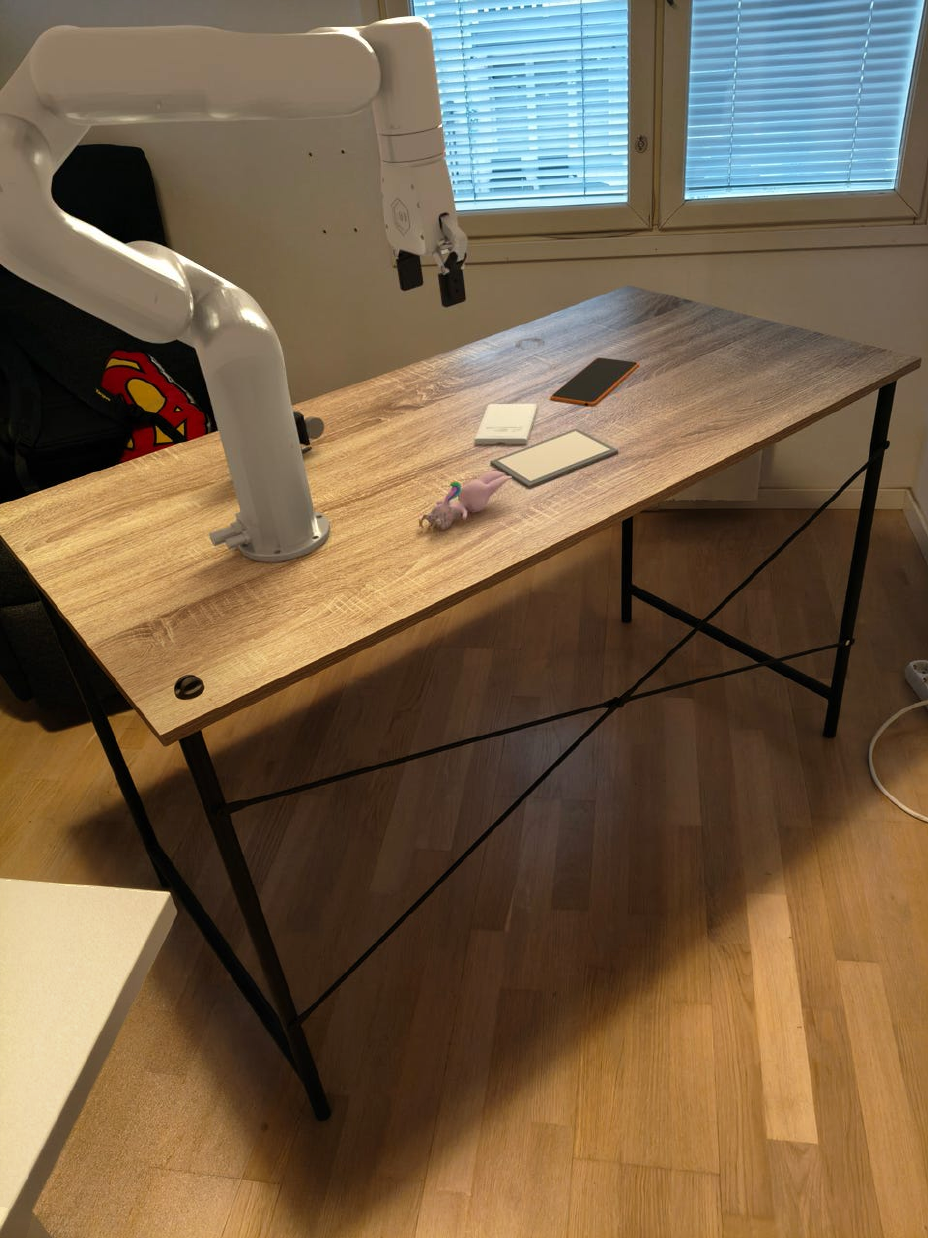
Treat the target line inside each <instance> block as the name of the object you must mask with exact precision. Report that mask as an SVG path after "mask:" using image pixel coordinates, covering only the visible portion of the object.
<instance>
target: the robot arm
mask: <svg viewBox="0 0 928 1238" xmlns="http://www.w3.org/2000/svg"><path fill="white" fill-rule="evenodd" d="M436 67H437V66H436V59H435V50H434V41H433V36H432V28H431V27H430V25H429V23H428V21H427V20H426V19H424V18H422V17H420V16H401V17H394V18H393V17H392V18H388V19H383V20H378V21H375V22H373V23H370V24H369V25H364V26H363V25H360V26H338V27H337V26H334V27H333V26H332V27H331V26H329V27H328V26H326V27H317V28H314V29H311V30H309V31H307V32H305V33H253V32H240V31H239V32H238V31H231V30H225V29H220V28H217V27H213V26H206V25H205V26H204V25H203V26H202V25H190V24H189V25H187V24H185V25H183V24H181V25H157V26H122V27H121V26H119V27H118V26H117V27H116V26H114V27H113V26H112V27H106V26H105V27H103V26H101V27H79V26H75V25H69V24H64V25H62V24H61V25H57V26H52V27H51V28H49V29H47V30H45V31H44V32H43V33H42V34H40V36H38V38H37V39H36V41H35V42H34V44H33V45H32V46H31V48H30V50H29V51H28V53H27V54H26V55H25V58H24V59H23V61H22V62H21V63H20V65H19V66H18V68H16V70H15V71H14V73H13V74H12V75H11V77H10V78H9V79H8V81H7V82H6V83H5V85H4V86H3V87H2V88H1V90H0V265H2V266H3V268H6V269H7V270H8V271H9V272H11V273H13V274H14V275H16V277H17V276H18V277H19V278H20V279H23V280H24V281H27V282H28V283H30V284H32V285H34V286H35V287H38V288H40V289H41V290H44V291H46V292H48V293H49V294H52V295H54V296H56V297H58V298H59V299H61V300H64V301H65V302H67V303H68V304H70V305H72V306H75V307H76V308H79V309H80V310H82V311H84V312H86V313H88V314H90V315H92V316H94V317H96V318H98V319H101V320H102V321H104V322H106V323H108V324H110V325H112V326H113V327H116V328H118V329H120V330H122V331H123V332H125V333H127V334H128V335H130V336H132V337H134V338H137V339H138V340H141V341H143V342H148V343H151V344H166V343H171V342H173V341H176V340H177V341H179V342H182V343H183V344H186V345H187V346H190V347H192V348H194V349H195V351H196V355H197V357H198V361H199V364H200V367H201V372H202V375H203V378H204V381H205V384H206V389H207V392H208V396H209V399H210V400H209V401H210V405H211V407H212V411H213V415H214V420H215V422H216V423H215V424H216V427H217V430H218V434H219V437H220V442H221V444H222V447H223V452H224V456H225V459H226V462H227V465H228V470H229V473H230V477H231V481H232V484H233V489H234V491H235V496H236V501H237V503H238V507H239V510H240V511H237V512H235V513H234V516H235V520H234V521H232V522H230V525H229V526H226V527H223V528H219V529H216V530H213V531H211V532H210V531H209V533H208V536H209V539H210V541H211V543H212V545H213V546H214V547H217V546H220V545H223V544H225V545H226V547H227V549H228V550H231V549H234V548H237V547H238V550H239V552H240V554H242V555H243V556H244V557H247V558H248V559H251V560H254V561H258V562H264V563H265V562H267V563H268V562H270V563H271V562H272V563H274V562H284V561H289V560H293V559H298V558H301V557H302V556H305V555H308V554H310V553H311V552H313V551H315V550H316V549H318V548H319V547H320V546H322V545H323V544H324V543H325V541H327V539H328V537H329V536H330V532H331V528H330V522H329V519H328V517H327V515H324V513H322V512H320V511H318V510H315V507H314V503H313V497H312V495H311V489H310V485H309V480H308V475H307V472H306V471H307V470H306V466H305V462H304V456H303V453H302V452H301V449H302V446H301V447H300V445H301V444H300V442H299V438H298V433H297V429H296V424H295V420H294V415H293V407H292V401H291V396H290V391H289V385H288V377H287V370H286V364H285V357H284V352H283V348H282V345H281V342H280V340H279V337H278V334H277V331H276V330H275V328H274V326H273V325H272V323H271V321H270V319H269V318H268V316H267V315H266V314H265V313H264V311H263V309H262V307H261V306H260V304H259V303H258V302H257V301H256V300H255V298H254V297H253V296H252V295H251V294H249V293H248V292H247V291H245V290H244V289H242V288H241V287H238V286H237V285H236V284H233V283H232V282H230V281H229V280H226V279H225V278H223V277H222V276H219V275H217V274H216V273H214V272H212V271H211V270H208V269H207V268H205V267H203V266H201V265H199V264H198V263H195V262H194V261H192V260H190V259H189V258H188V257H187V258H186V257H185V256H183V255H182V254H179V253H178V252H176V251H174V250H173V249H170V248H168V247H167V246H163V245H162V244H158V243H156V242H153V241H147V240H135V241H131V242H127V243H123V242H122V241H120V240H118V239H116V238H114V237H112V236H111V235H109V234H107V233H105V232H104V231H102V230H101V229H99V228H97V227H96V226H94V225H92V224H90V223H87V222H86V221H83V220H81V219H79V218H77V217H75V216H73V215H70V214H69V213H67V212H65V211H64V210H63V209H61V208H60V207H59V206H58V204H57V203H56V202H55V200H54V199H53V195H52V183H53V177H54V175H55V174H56V172H58V169H60V167H61V166H62V165H63V163H64V162H65V160H67V158H68V157H69V156H70V154H71V153H72V152H73V151H74V149H75V148H76V147H77V146H78V144H79V143H80V141H81V140H82V139H83V138H84V136H85V135H86V134H87V132H88V131H89V130H90V128H91V127H93V126H95V127H96V126H112V125H113V126H115V125H116V126H117V125H133V124H148V123H150V124H151V123H152V124H153V123H167V122H171V123H176V122H177V123H178V122H180V123H181V122H204V121H205V122H207V121H208V122H209V121H211V122H234V121H248V120H249V121H251V120H253V121H254V120H257V121H258V120H260V121H262V120H263V121H264V120H265V121H268V120H269V121H277V120H278V121H279V120H280V121H281V120H282V121H283V120H285V121H286V120H287V121H288V120H290V121H291V120H307V119H309V120H311V119H312V120H313V119H331V118H332V119H335V118H343V117H344V118H345V117H352V116H355V115H357V114H360V113H361V112H363V111H365V110H367V108H369V107H370V105H372V112H373V120H374V125H375V132H376V137H377V144H378V151H379V156H380V190H381V201H382V202H381V203H382V210H383V219H382V220H383V222H384V226H385V233H386V240H387V242H388V243H389V245H390V246H391V247H393V248H392V255H393V257H394V258H395V263H396V269H397V275H398V281H399V287H400V290H401V291H403V292H407V291H410V290H414V289H416V288H419V287H422V286H423V285H424V276H423V270H422V262H421V257H422V258H428V257H430V256H431V255H432V257H433V259H434V260H435V263H436V264H437V267H438V269H439V271H440V272H439V273H437V278H438V285H439V294H440V301H441V306H442V307H443V308H450V307H452V306H455V305H458V304H461V303H465V301H466V299H467V297H466V287H465V279H464V270H463V269H465V266H466V265H465V261H466V259H467V256H468V255H467V249H468V243H469V239H468V236H467V234H466V233H465V232H464V231H463V230H462V229H461V227H460V226H459V222H458V214H457V208H456V202H455V196H454V191H453V190H454V189H453V185H452V180H451V177H450V172H449V168H448V164H447V160H446V156H447V150H446V143H445V135H444V134H445V133H444V125H443V118H442V117H443V115H442V107H441V102H440V101H441V100H440V90H439V85H438V84H439V83H438V76H437V68H436ZM447 253H449V254H448V256H447V258H446V259H445V257H444V255H443V254H447Z"/></svg>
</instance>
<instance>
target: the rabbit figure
mask: <svg viewBox="0 0 928 1238" xmlns="http://www.w3.org/2000/svg"><path fill="white" fill-rule="evenodd" d="M505 475H506V473H505V472H503V471H495V470H493V471H492V470H491V471H487V472H485V473H483V474H481V475H480V476H479V477H478V478H477V479H476V480H471V481H468V482H467V483H466V484H464V485H463V487H462V485H461V483H460V482H458V480H455V481H453V482H451V483H450V484H449V486H448V487H451V488H450V490H449V491H448V492H447V493H446V495H445V498H444V500H439V501H436V505H435V506H434V507H433V508H432V510H431V511H429V513H426V514H425V513H423V515H422V518H418V519H417V520H418V527H419V528H421V530H423V529H425V528H424V526H423V522H424V520H426V521H427V522H428V523H429V524H428V527H429V533H431V534H432V537H434V536H435V532H434V527H435V526H436V528H438V530H440V531H446V530H448V529H449V528H450V526H451V525H452V522H453V520H454V519H455V518H458V517H459V516H461V515H462V516H461V517H462V519H463V520H466V519H467V518H468V512H470V513H475V512H480V511H482V510H483V509H484V508H485V506H487V504H488V501H489V500H490V498H491V496H492V495H494V494H495V493H496V492H497V491H498V490H500V489H501V487H503V485H504V484H505V483H506V482H508V481H509V480H511V479H512V478H513V477H512V476H509V475H508V476H507V475H506V476H505ZM456 498H457V500H458V501H452V500H454V499H456Z"/></svg>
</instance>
